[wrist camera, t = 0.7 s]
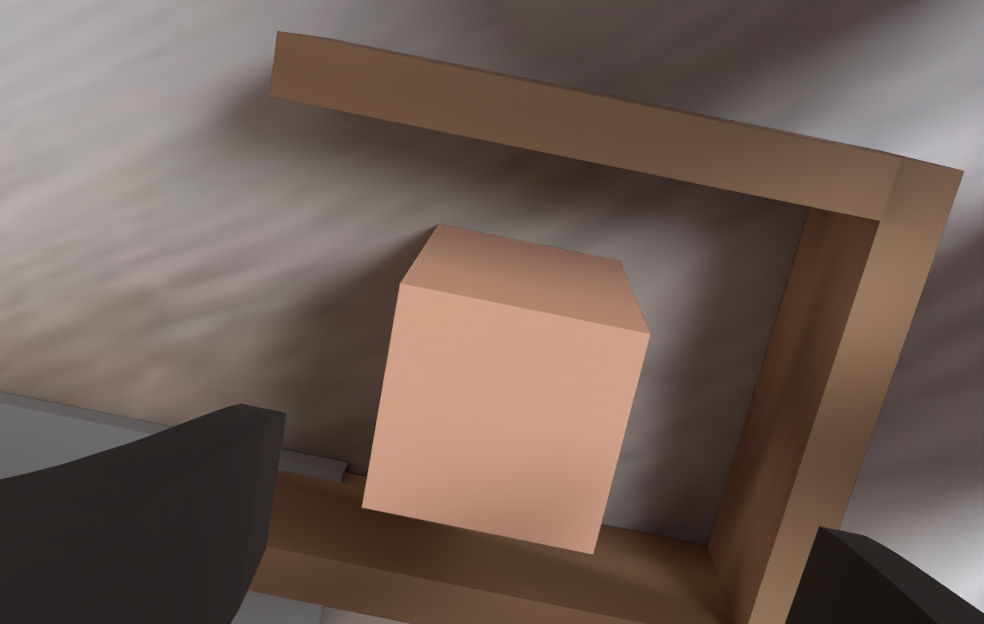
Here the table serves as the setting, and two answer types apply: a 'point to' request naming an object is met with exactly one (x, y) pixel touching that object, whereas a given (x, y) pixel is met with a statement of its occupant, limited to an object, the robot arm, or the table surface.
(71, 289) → the table surface
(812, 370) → the brown piece
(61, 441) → the coaster
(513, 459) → the block
